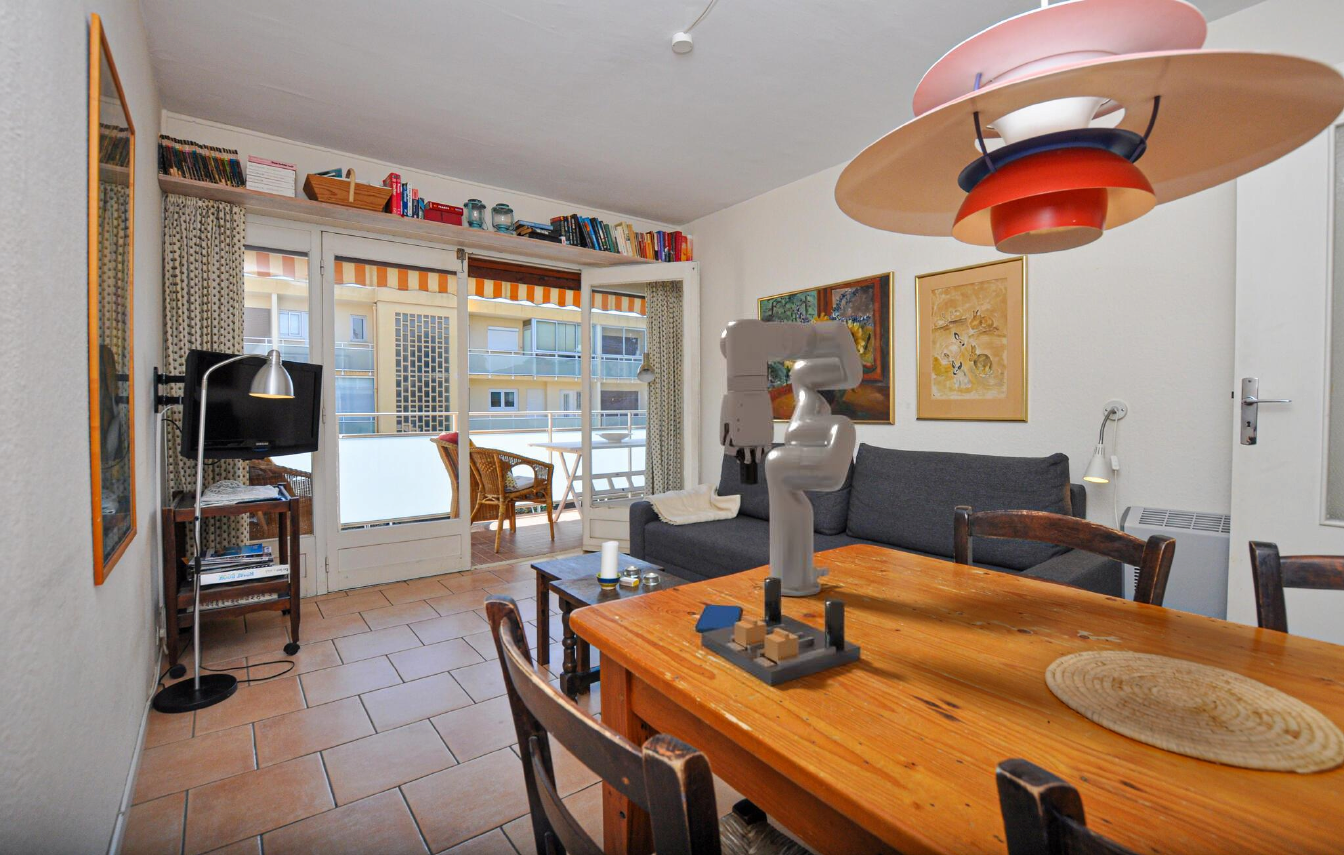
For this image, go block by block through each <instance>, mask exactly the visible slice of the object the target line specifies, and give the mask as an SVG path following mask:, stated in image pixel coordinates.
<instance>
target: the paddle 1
mask: <svg viewBox="0 0 1344 855" xmlns="http://www.w3.org/2000/svg"><path fill="white" fill-rule="evenodd" d="M742 618H743V619H742V620H741V621H740V620H739V622H736V623H735V642H737V643H739V644H741V645H742V646H744V647H747V645H751V644H755V643H759V642H763V641H765V636H766V623H764V622H761V621H759V620H760V619H757V618H755V617H751V616H749V615H743V617H742Z"/></svg>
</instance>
